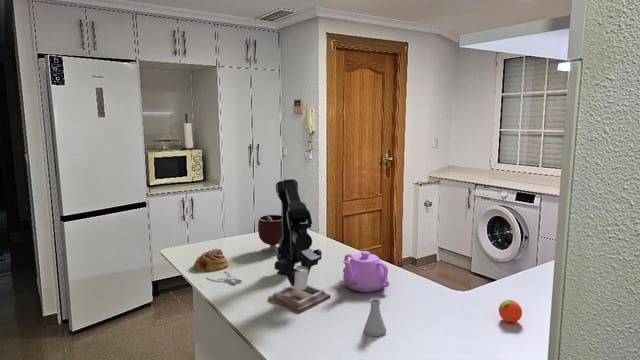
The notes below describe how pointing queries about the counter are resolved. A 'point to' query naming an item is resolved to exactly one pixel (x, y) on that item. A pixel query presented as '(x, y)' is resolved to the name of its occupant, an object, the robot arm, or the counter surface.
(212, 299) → the counter surface
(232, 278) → the pliers
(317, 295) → the brown square tray
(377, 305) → the flask
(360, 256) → the teapot
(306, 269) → the shot glass
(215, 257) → the pastry
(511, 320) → the clementine
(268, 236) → the dark red goblet shape
